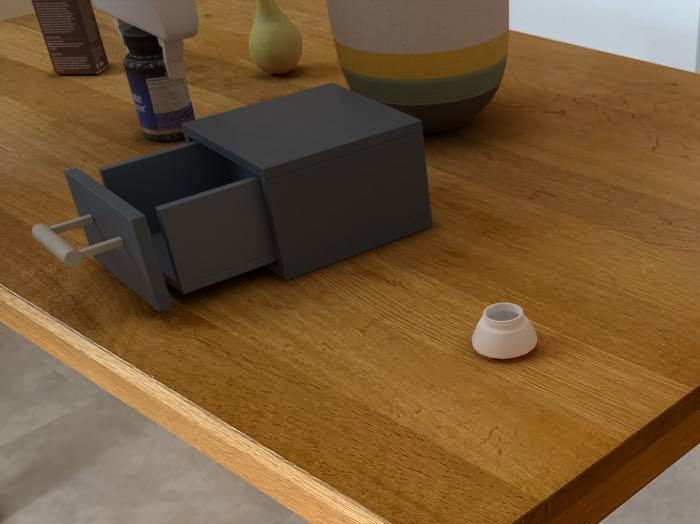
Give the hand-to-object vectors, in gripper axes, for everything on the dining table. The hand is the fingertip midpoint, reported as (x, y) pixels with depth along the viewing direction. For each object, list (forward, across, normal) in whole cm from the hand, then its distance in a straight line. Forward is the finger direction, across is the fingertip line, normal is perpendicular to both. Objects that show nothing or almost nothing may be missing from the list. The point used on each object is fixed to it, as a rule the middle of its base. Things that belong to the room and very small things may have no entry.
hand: (157, 68), depth 111 cm
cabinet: (+7, +34, -1) cm, 34 cm away
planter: (+8, +19, +23) cm, 30 cm away
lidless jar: (+8, +63, -2) cm, 63 cm away
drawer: (+6, +34, -16) cm, 38 cm away
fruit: (+7, -10, +20) cm, 23 cm away
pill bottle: (+7, 0, 0) cm, 7 cm away
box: (+7, -31, +2) cm, 32 cm away
